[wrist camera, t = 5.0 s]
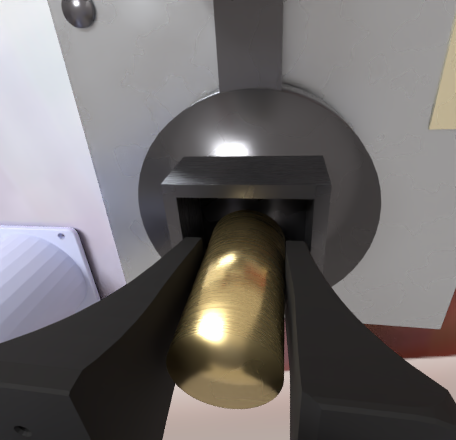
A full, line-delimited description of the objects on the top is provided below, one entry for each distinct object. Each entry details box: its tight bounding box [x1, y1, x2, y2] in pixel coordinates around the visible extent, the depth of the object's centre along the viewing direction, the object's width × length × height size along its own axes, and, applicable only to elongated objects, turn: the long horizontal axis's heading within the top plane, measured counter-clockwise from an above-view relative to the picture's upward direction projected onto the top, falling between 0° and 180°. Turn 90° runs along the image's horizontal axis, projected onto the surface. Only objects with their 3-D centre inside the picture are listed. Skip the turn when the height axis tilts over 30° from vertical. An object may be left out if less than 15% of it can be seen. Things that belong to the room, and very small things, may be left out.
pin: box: [166, 210, 285, 409], centre depth 11 cm, size 3×3×6 cm
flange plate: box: [47, 0, 456, 329], centre depth 17 cm, size 20×19×1 cm
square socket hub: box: [138, 0, 381, 287], centre depth 13 cm, size 11×19×5 cm, turn 3°
